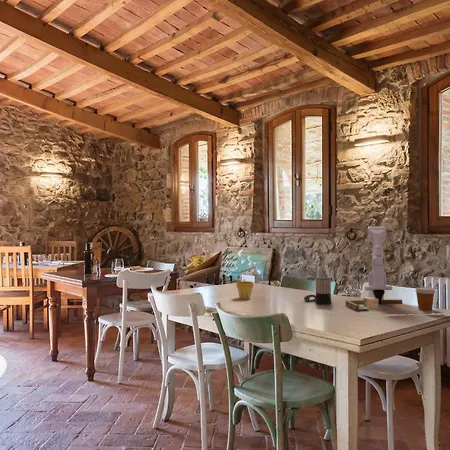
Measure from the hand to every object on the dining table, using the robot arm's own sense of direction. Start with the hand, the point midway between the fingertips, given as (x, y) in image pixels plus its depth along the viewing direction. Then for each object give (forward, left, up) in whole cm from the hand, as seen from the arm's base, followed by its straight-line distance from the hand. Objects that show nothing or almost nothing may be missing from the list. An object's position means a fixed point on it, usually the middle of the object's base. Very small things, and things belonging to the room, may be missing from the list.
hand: (378, 303), depth 244 cm
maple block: (0, -4, -1) cm, 5 cm away
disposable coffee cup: (+12, +20, -3) cm, 23 cm away
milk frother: (-21, -28, -3) cm, 35 cm away
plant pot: (-43, -67, -3) cm, 80 cm away
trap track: (0, +1, -2) cm, 2 cm away
